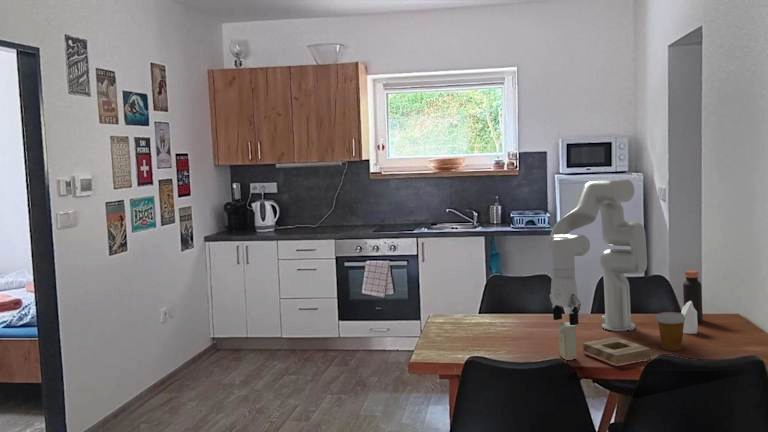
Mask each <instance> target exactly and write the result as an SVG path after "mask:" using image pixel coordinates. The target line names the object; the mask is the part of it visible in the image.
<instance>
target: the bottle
mask: <svg viewBox="0 0 768 432" xmlns="http://www.w3.org/2000/svg"><path fill="white" fill-rule="evenodd" d="M699 275H700V274H699V271H698V270H691V269H690V270H686V271H685V272H684V276H685V279H686V280H685V281H684V282H683V283H682V286H683V287H682V290H683V306H684V305H685V304H686V303H687V302H688V301H692V303H693V307H694V308H695V310H696V311H697V322H698V323H702V322H703V319H704V317H703V294H702V293H703V292H702V291H703V290H702V283H701V281H699V280H698V279H699Z"/></svg>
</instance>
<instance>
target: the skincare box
mask: <svg viewBox="0 0 768 432" xmlns="http://www.w3.org/2000/svg"><path fill="white" fill-rule="evenodd" d="M557 324H558V348H559V349H558V351H559V352H560V353H561V354H562V355H563V356H564V357H573V356H577V329H576V328H577V327H576V325H570V321H565V322H558V323H557Z"/></svg>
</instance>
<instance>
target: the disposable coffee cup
mask: <svg viewBox="0 0 768 432" xmlns="http://www.w3.org/2000/svg"><path fill="white" fill-rule="evenodd" d="M656 320H657V324H658V329H659V336H660V341H661V347H662V349H663V350H665V351H671V352H672V351H674V352H675V351H680V350H682V348H683V347H682V346H683V335H684V333H683V328H684V321H685V317H684V315H683V314H682V313H681V312H677V311H676V312H675V311H674V312H673V311H665V312H659V313H658V314H657V315H656Z"/></svg>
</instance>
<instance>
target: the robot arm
mask: <svg viewBox="0 0 768 432" xmlns="http://www.w3.org/2000/svg"><path fill="white" fill-rule="evenodd" d="M634 195H635V185H634V183H633V182H632V180H630V179H625V178H624V179H621V178H620V179H597V180H591V181H588V182H586V183H584V185H583V186H582V188H581V190H580V193H579V195H578V198H577V200H576V203H575V205H574V208H573V210H571V211H570V212H568V213H567V214H566V215H564V216H563V217H562V218H561V219H559V220H558V221H557V222H556V223H555V224H554V226H553V228H552V229H551V232H550V235H549V238H548V242H547V246H548V251H549V252H550V253H551V262H552V263H551V264H552V265H551V266H552V269H551V271H552V272H551V273H552V277H551V282H550V294H549V299H550V304H551V308H552V317H553V321H558V320H562V319H563V310H562V308H567V309H568V311H569V314H568V315H569V321H568V322H570V325H575V326H576V325H577V326H578V325H579V313H580V310H581V306H582V301H581V300H580V299H579V297H578V288H577V281H576V268H575V266H576V265H575V257H583V256H585V255H586V254H588V252H589V251H590V249H591V243H590V239H589V238H588V237H587V236H585V235H584V234H570V233H571V232H573V231H574V230H577V229H580V228H583V227H586V226H588V225H591V224H592V223H594V222H595V221H596V219H597V216H598V213H599V211H600V219H601V233H602V240H603V242H604V244H606V245H607V246H612V247H613V246H614V247H616V246H617V247H630V248H629V249H628V248H608V249H605V250H604V251H602V252H601V254H600V257H599V263H600V268H601V272H602V277H603V292H604V294H603V295H604V310H605V311H604V312H605V313H604V315H601V318H600V319H602V320H604V322H603V323H602V324H601V328H602V327H603V328H604V329H603V328H602V329H603V330H605V329H608V330H614V331H613V332H627V330H629V331H633V330H634V329H636V324H635V323H633V322H632V320H631V319H632V318H631V295H630V282H629V280H628V279H627V277H626V276H625V274H626V275H627V274H629V275H641V274H644V273H645V271H646V270H647V267H648V254H647V253H648V252H647V238H646V236H647V235H646V230H645V228H644V226H643V224H642V223H641V222H639V221H626V220H625V215H624V214H625V211H624V208H623V206H622V204H623V203H627V202H628V203H629V202H630V201H632V199H633V197H634ZM608 330H607V331H608Z"/></svg>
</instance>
